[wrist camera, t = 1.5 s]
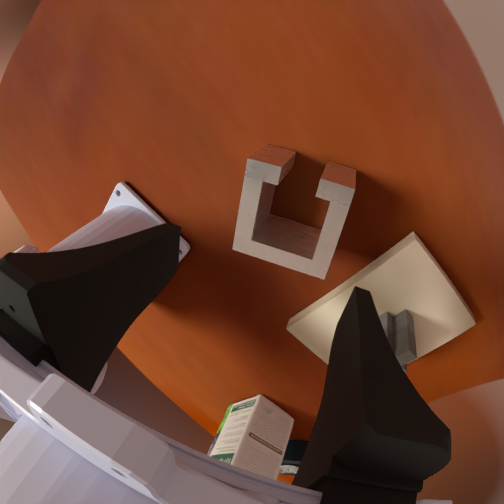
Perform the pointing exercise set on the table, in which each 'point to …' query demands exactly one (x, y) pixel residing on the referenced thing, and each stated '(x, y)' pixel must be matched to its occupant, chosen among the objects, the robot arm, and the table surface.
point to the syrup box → (253, 436)
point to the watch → (292, 457)
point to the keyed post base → (393, 304)
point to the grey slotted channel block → (284, 230)
